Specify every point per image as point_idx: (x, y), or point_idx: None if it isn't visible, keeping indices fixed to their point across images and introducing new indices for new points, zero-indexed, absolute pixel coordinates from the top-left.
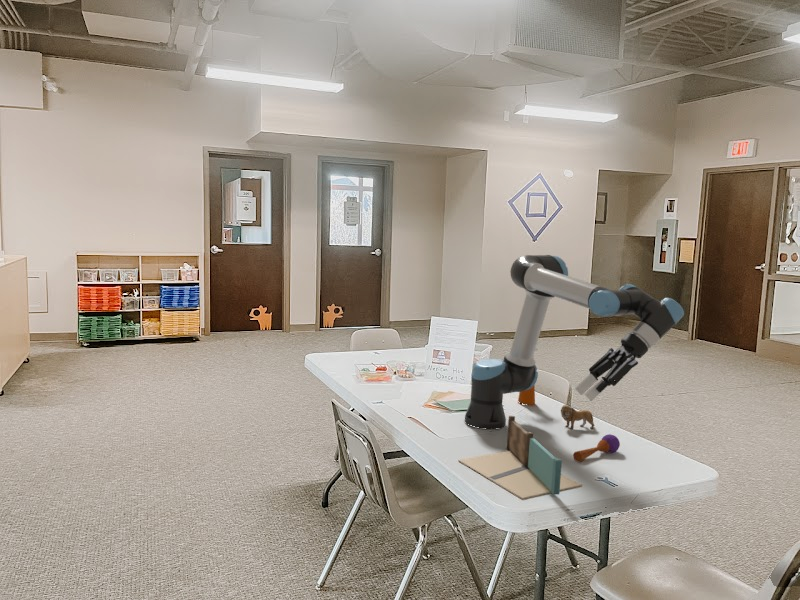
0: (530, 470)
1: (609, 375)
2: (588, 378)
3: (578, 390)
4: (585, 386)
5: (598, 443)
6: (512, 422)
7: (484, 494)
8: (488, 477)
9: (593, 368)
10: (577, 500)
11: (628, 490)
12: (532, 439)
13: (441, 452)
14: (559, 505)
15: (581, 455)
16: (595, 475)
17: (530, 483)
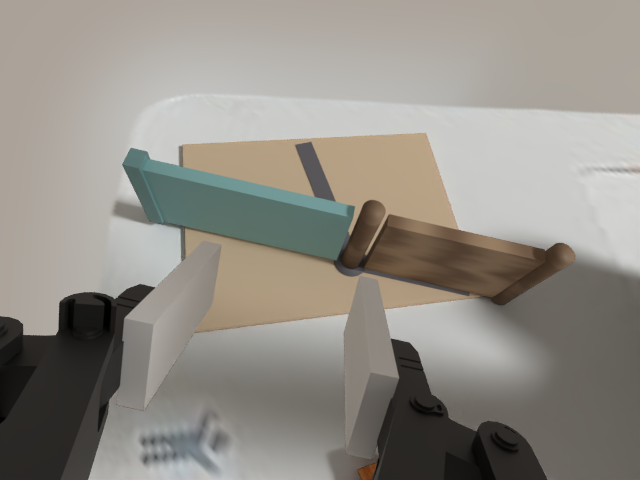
0: None
1: (33, 377)
2: (363, 347)
3: (355, 297)
4: (352, 342)
5: None
6: (526, 246)
7: (237, 97)
8: (310, 139)
9: (484, 467)
10: (116, 259)
11: (92, 471)
12: (339, 205)
13: (482, 128)
14: (116, 201)
15: (363, 469)
16: (241, 440)
17: None
